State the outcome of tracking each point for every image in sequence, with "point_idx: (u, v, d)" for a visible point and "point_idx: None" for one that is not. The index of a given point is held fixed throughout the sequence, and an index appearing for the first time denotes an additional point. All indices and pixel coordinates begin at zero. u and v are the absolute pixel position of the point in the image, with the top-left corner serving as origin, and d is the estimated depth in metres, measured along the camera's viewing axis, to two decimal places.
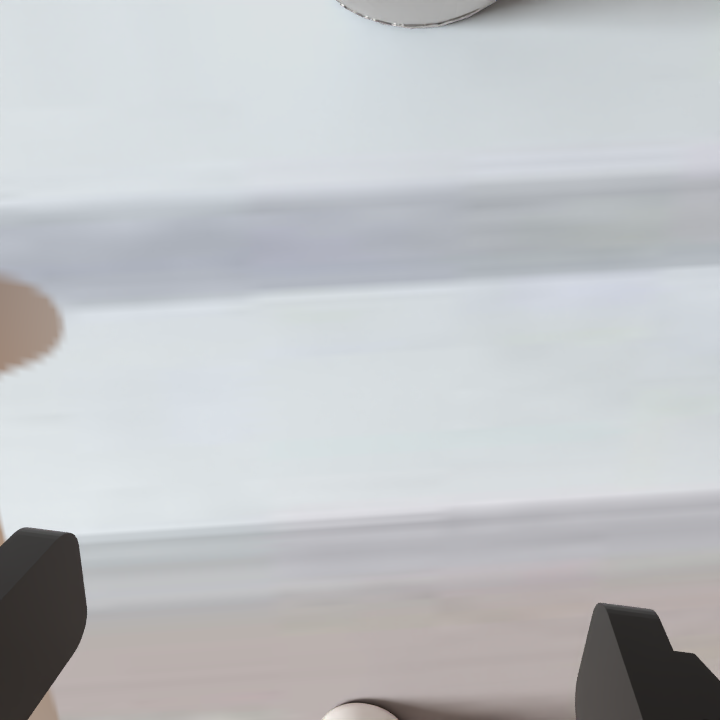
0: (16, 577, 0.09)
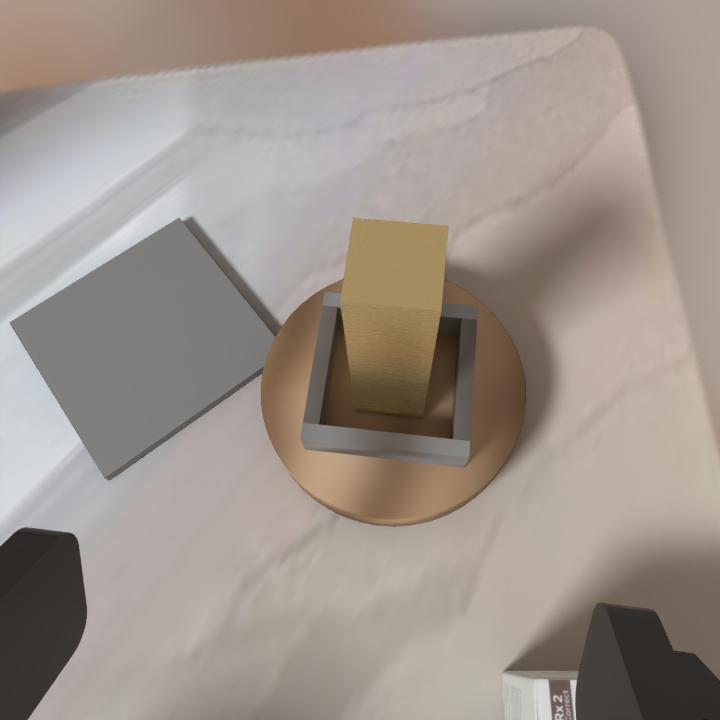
0: (16, 577, 0.09)
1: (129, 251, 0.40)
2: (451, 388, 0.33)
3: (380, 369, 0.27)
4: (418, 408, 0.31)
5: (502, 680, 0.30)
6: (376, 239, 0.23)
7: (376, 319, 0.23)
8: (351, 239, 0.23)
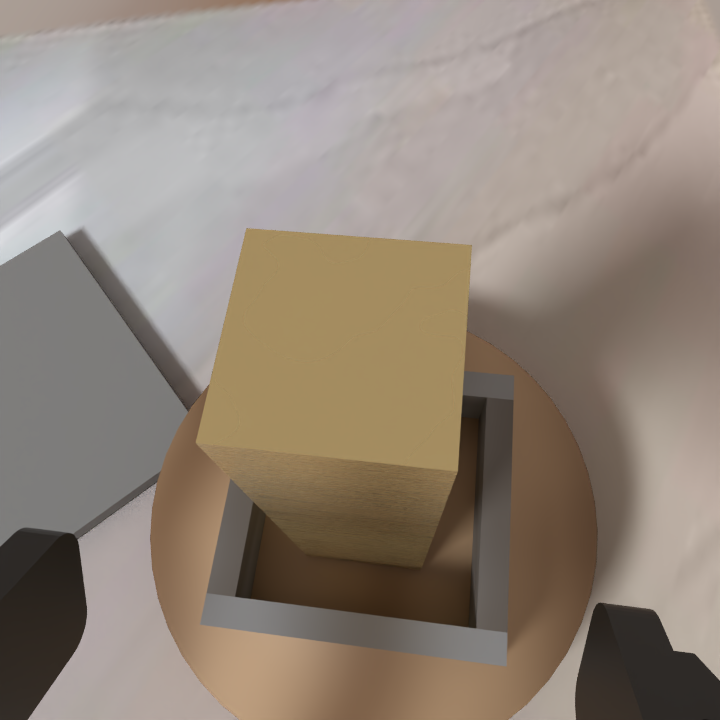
0: (16, 577, 0.09)
1: None
2: (470, 513, 0.20)
3: (333, 527, 0.14)
4: (412, 562, 0.18)
5: None
6: (298, 279, 0.09)
7: (300, 473, 0.09)
8: (238, 279, 0.10)
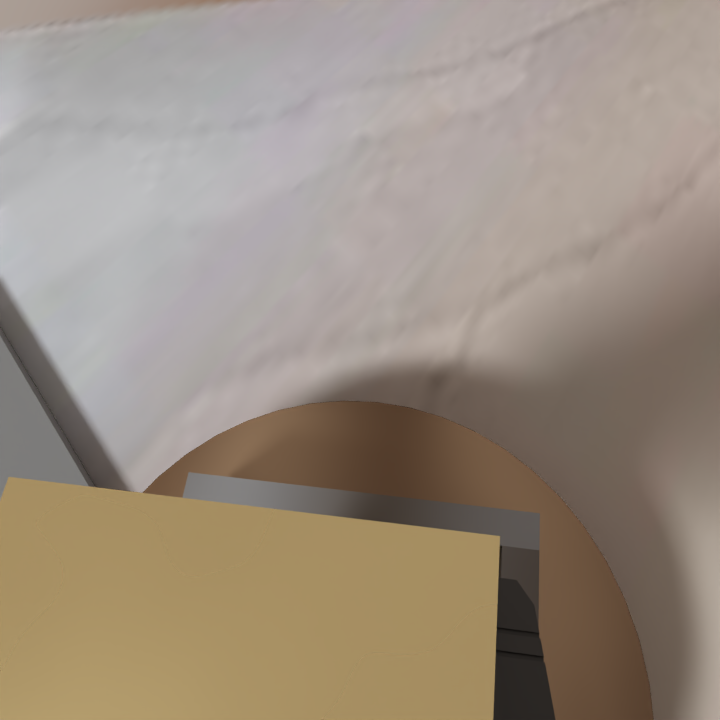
0: None
1: None
2: None
3: None
4: None
5: None
6: (103, 621, 0.04)
7: None
8: None
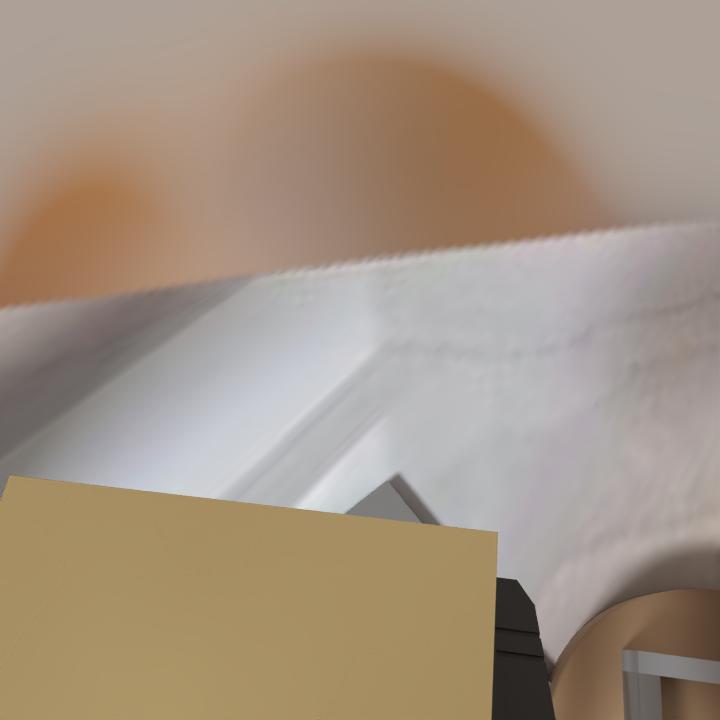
0: None
1: None
2: None
3: None
4: None
5: None
6: (104, 617, 0.04)
7: None
8: None
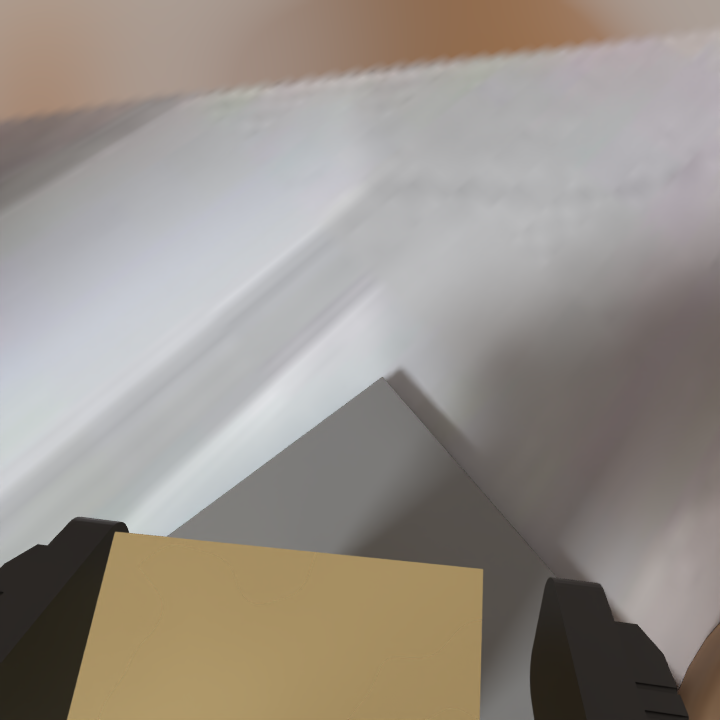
0: (76, 563, 0.09)
1: (286, 456, 0.19)
2: None
3: None
4: None
5: None
6: (194, 638, 0.06)
7: None
8: (94, 637, 0.06)
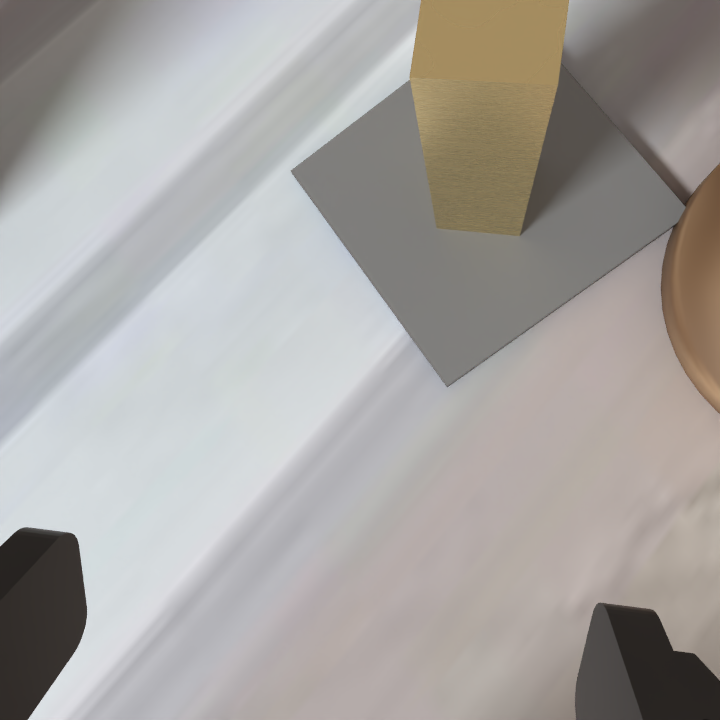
0: (16, 577, 0.09)
1: None
2: None
3: (467, 175, 0.21)
4: (515, 224, 0.25)
5: None
6: None
7: (462, 103, 0.16)
8: None
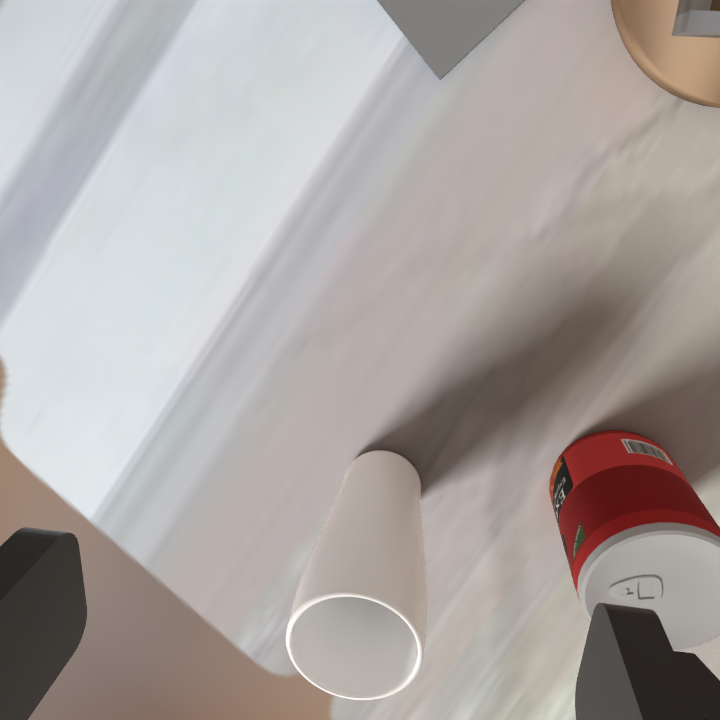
0: (16, 577, 0.09)
1: None
2: None
3: None
4: None
5: None
6: None
7: None
8: None
